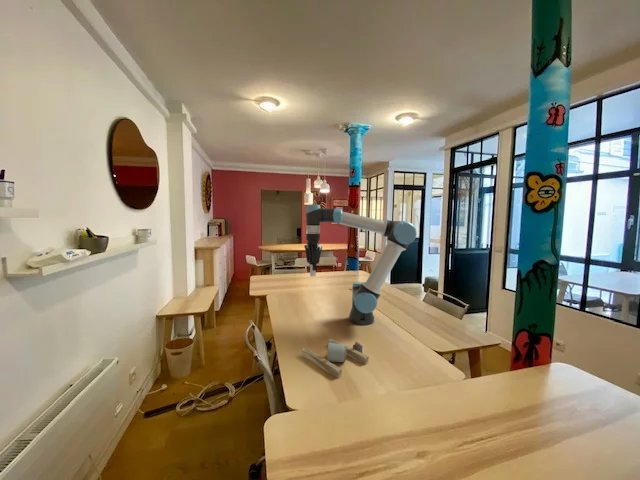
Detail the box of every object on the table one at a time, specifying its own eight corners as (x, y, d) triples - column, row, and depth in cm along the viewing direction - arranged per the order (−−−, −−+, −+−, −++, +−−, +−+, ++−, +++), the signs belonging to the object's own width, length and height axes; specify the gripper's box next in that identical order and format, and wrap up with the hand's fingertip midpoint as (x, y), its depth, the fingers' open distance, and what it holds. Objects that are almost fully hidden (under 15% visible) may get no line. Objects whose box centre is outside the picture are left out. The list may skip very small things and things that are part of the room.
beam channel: (337, 342, 141) (337, 331, 140) (374, 360, 123) (374, 348, 123) (301, 355, 127) (302, 344, 126) (337, 378, 109) (338, 365, 109)
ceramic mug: (346, 365, 119) (346, 347, 118) (326, 365, 119) (327, 347, 119) (345, 354, 129) (345, 337, 129) (327, 353, 130) (327, 336, 129)
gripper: (300, 232, 157) (300, 274, 159) (315, 234, 147) (315, 278, 149) (310, 232, 162) (310, 273, 164) (326, 233, 152) (325, 277, 154)
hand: (312, 275), depth 157 cm, fingers closed
